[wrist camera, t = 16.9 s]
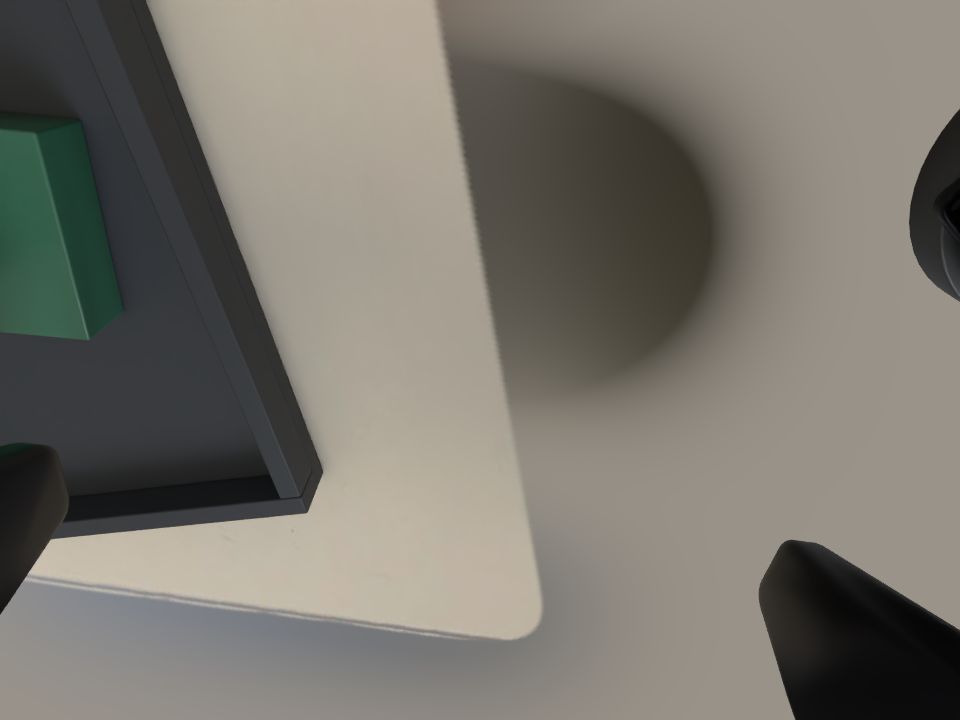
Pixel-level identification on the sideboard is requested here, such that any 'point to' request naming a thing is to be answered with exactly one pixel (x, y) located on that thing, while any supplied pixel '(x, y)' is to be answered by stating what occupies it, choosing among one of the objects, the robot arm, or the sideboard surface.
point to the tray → (147, 301)
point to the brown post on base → (52, 232)
